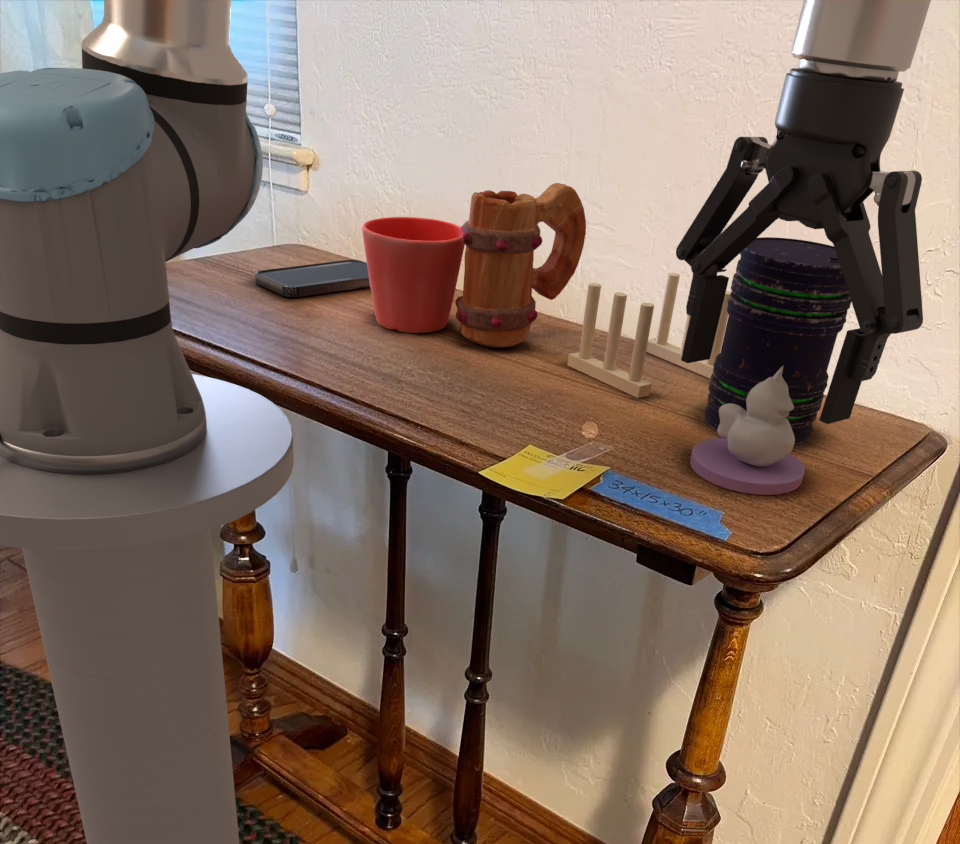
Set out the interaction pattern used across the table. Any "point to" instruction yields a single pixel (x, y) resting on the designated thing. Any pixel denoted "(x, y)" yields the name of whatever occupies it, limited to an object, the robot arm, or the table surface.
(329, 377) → the table surface
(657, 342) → the rack
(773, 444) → the grey lumpy piece
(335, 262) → the phone
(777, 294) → the dark blue barrel
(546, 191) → the mug
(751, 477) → the purple coaster
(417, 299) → the flower pot
